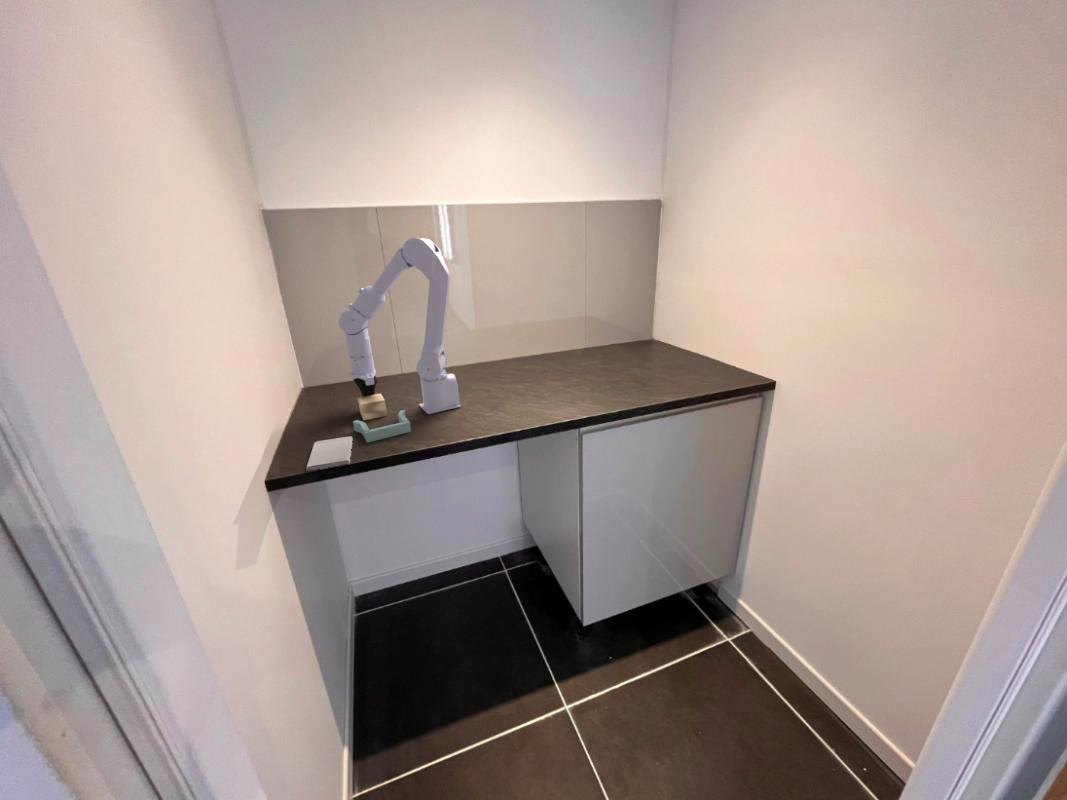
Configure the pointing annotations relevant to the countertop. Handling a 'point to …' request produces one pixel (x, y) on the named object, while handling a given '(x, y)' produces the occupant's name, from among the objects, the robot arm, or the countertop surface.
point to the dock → (383, 429)
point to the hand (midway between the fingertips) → (369, 402)
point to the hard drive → (330, 453)
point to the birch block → (372, 406)
